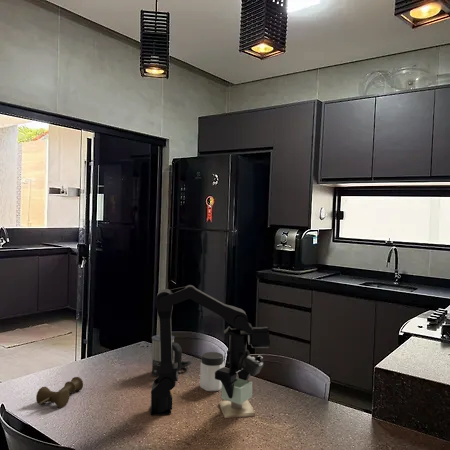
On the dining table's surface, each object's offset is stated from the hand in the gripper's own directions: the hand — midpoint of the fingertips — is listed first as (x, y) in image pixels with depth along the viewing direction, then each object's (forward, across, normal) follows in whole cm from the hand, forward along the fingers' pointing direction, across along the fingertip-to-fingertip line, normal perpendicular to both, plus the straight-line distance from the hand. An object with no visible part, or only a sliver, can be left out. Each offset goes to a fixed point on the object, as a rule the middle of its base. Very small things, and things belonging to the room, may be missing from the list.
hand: (236, 394), depth 143 cm
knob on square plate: (+5, 0, 0) cm, 5 cm away
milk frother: (+6, +14, +40) cm, 43 cm away
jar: (+6, +11, +18) cm, 21 cm away
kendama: (+6, -30, +53) cm, 61 cm away
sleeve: (+1, 0, 0) cm, 1 cm away
